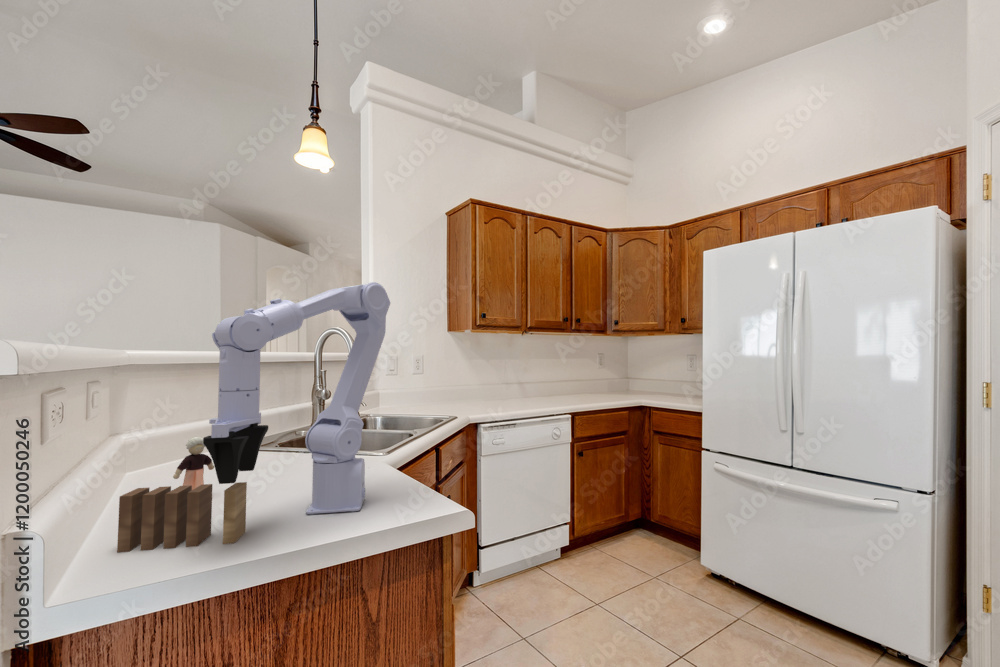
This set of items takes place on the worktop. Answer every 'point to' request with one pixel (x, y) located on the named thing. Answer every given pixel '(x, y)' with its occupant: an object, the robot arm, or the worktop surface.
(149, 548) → the domino
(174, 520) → the domino
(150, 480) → the worktop surface
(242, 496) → the domino
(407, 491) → the worktop surface
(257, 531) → the worktop surface
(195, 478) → the grandmother figurine
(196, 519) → the domino
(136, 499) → the domino
